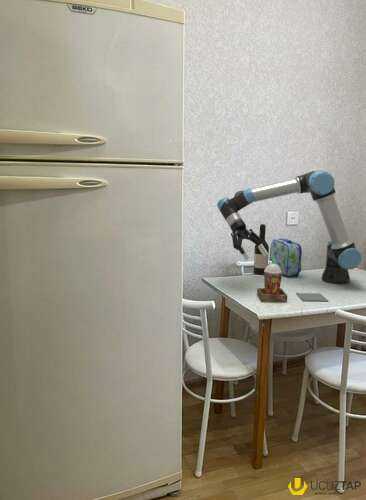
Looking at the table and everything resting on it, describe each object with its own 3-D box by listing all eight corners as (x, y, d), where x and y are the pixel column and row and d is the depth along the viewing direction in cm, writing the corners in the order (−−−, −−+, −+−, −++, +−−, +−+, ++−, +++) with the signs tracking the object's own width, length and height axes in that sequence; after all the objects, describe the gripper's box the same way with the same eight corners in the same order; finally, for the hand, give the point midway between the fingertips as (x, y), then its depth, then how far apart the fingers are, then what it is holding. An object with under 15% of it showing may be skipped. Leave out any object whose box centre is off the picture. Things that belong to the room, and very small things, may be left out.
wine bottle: (267, 275, 240) (270, 225, 234) (253, 274, 241) (255, 224, 236) (267, 272, 248) (269, 223, 242) (253, 271, 249) (255, 223, 244)
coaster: (320, 294, 202) (320, 293, 202) (328, 301, 190) (328, 300, 190) (296, 294, 202) (296, 292, 202) (302, 301, 190) (303, 300, 190)
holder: (281, 295, 200) (281, 288, 199) (287, 302, 188) (287, 295, 188) (256, 294, 200) (257, 287, 200) (261, 302, 188) (261, 294, 188)
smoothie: (260, 296, 198) (262, 256, 194) (277, 295, 199) (279, 256, 195) (265, 301, 190) (267, 259, 186) (282, 301, 191) (285, 259, 187)
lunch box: (302, 278, 235) (305, 242, 231) (285, 278, 233) (288, 243, 229) (283, 268, 260) (284, 236, 256) (267, 268, 258) (269, 236, 254)
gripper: (248, 226, 217) (269, 258, 208) (214, 230, 202) (235, 264, 193) (256, 217, 212) (278, 250, 203) (222, 220, 197) (243, 255, 188)
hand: (257, 257), depth 198 cm, fingers open, 13 cm apart
